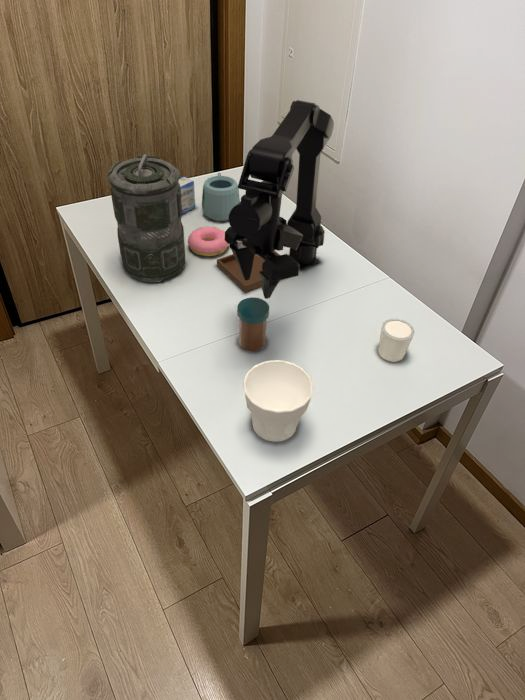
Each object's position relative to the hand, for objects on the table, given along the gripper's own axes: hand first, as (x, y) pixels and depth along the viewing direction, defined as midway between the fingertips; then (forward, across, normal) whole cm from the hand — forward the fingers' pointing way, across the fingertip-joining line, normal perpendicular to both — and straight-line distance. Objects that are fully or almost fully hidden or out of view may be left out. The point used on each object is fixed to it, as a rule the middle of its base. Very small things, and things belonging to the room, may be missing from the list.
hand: (256, 288), depth 109 cm
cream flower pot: (+16, -21, +8) cm, 28 cm away
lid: (+4, 0, +1) cm, 4 cm away
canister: (+12, +37, +7) cm, 39 cm away
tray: (+11, +23, -15) cm, 29 cm away
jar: (+14, 0, 0) cm, 14 cm away
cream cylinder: (+13, -18, -25) cm, 33 cm away
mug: (+8, +53, -21) cm, 58 cm away
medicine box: (+8, +59, -11) cm, 60 cm away
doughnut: (+10, +38, -9) cm, 40 cm away
